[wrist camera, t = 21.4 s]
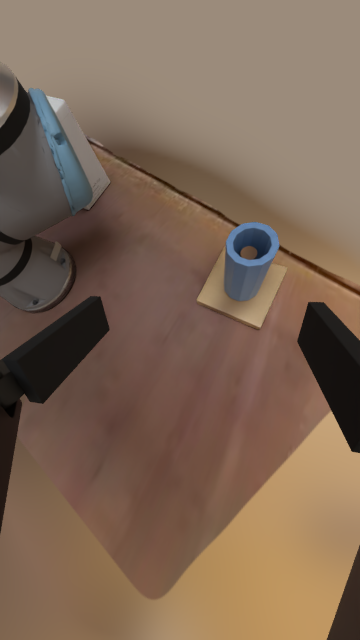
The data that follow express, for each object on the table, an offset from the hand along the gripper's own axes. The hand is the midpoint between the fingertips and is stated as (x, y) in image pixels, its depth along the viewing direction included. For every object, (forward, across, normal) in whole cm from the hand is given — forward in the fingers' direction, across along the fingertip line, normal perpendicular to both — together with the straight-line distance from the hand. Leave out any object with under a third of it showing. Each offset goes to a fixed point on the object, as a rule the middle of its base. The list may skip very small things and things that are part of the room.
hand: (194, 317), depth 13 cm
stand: (+22, +5, -7) cm, 24 cm away
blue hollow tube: (+21, +5, -6) cm, 23 cm away
